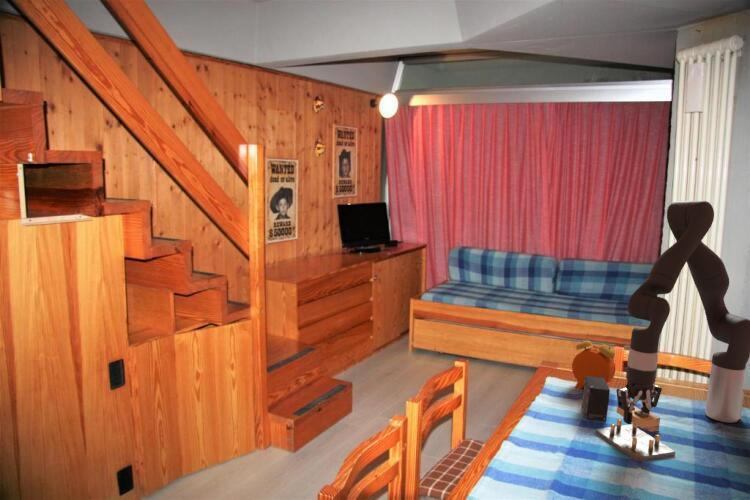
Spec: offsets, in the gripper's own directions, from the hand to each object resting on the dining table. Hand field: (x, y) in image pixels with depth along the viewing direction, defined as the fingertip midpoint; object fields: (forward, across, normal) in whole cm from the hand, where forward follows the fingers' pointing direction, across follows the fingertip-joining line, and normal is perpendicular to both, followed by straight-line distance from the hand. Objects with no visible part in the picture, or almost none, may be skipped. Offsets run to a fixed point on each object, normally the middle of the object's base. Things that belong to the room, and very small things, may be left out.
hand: (635, 421), depth 169 cm
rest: (+7, -12, -8) cm, 16 cm away
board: (-1, 0, 0) cm, 1 cm away
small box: (+7, -2, -20) cm, 21 cm away
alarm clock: (+7, -14, -37) cm, 40 cm away
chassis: (+7, 0, 0) cm, 7 cm away
